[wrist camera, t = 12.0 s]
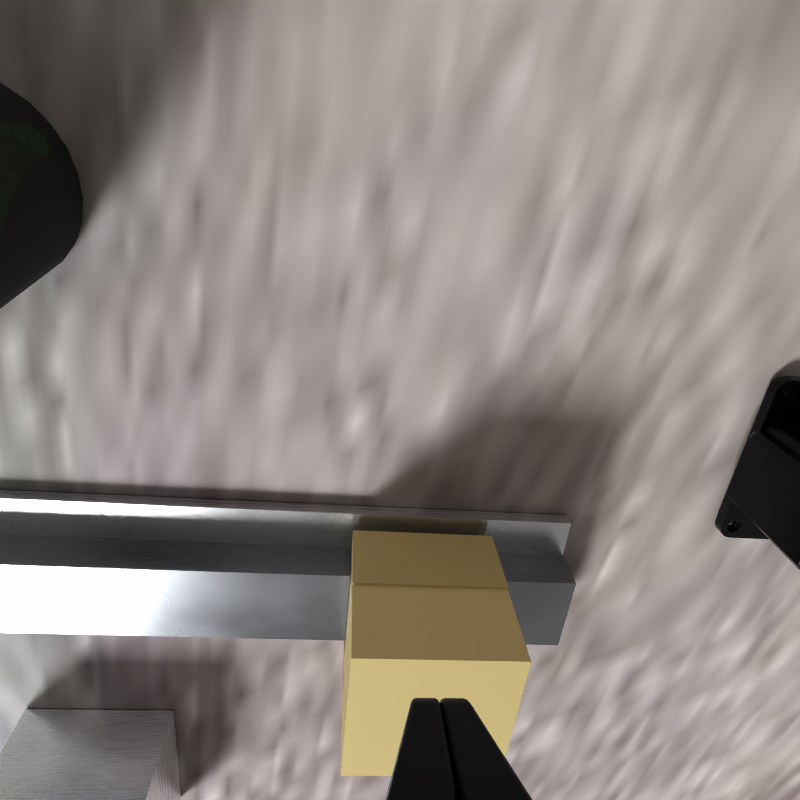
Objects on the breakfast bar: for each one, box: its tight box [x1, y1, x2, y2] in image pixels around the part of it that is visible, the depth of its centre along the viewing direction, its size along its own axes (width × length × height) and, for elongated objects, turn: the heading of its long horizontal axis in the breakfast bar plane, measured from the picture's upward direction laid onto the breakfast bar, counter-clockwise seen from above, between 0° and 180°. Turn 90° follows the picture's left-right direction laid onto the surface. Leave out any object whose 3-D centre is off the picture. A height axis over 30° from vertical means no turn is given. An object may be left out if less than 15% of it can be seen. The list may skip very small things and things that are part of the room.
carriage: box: [341, 530, 531, 776], centre depth 20 cm, size 5×5×5 cm
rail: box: [0, 490, 576, 645], centre depth 21 cm, size 22×6×2 cm, turn 84°
